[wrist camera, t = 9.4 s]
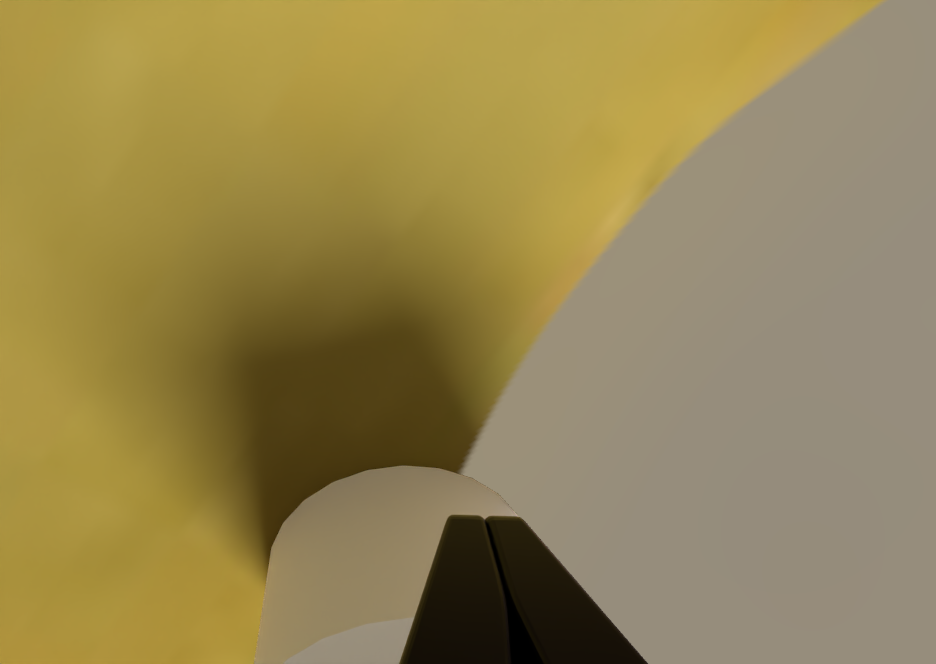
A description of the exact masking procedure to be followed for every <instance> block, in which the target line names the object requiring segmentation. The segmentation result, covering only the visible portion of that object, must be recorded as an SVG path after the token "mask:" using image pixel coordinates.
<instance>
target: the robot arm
mask: <svg viewBox="0 0 936 664" xmlns="http://www.w3.org/2000/svg"><path fill="white" fill-rule="evenodd" d="M399 664H648V663H647V662H646V661H645V660H644V659H643V657H642V656H641V655H640V654H639V653H638V652H637V650H636V649H635V648H634V647H633V646H632V645H631V643H629V641H628V640H627V639H626V638H625V637H624V635H623V634H622V633H621V632H620V631H619V630H618V628H617V627H616V626H615V625H614V624H613V623H612V622H611V620H610V619H609V618H608V617H607V616H606V615H605V614H604V613H603V611H602V610H601V609H600V608H599V607H598V605H597V604H596V603H595V602H594V601H593V599H592V598H591V597H590V596H589V595H588V594H587V593H586V591H585V590H584V589H583V588H582V587H581V586H580V585H579V583H578V582H577V581H576V580H575V579H574V577H573V576H572V575H571V574H570V573H569V572H568V571H567V569H566V568H565V567H564V566H563V565H562V564H561V562H560V561H559V560H558V559H557V558H556V557H555V556H554V554H553V553H552V552H551V551H550V550H549V549H548V547H547V546H546V545H545V544H544V543H543V542H542V541H541V539H540V538H539V537H538V536H537V535H536V533H535V532H534V531H533V530H532V529H531V528H530V527H529V526H528V524H527V523H526V522H525V521H524V520H523V519H521V518H520V517H517V516H489V517H487V518H485V520H484V518H483V517H481V516H479V515H450V516H449V517H448V518H447V520H446V523H445V526H444V529H443V532H442V535H441V538H440V541H439V544H438V547H437V550H436V553H435V556H434V559H433V562H432V565H431V568H430V571H429V574H428V577H427V580H426V583H425V587H424V590H423V593H422V596H421V599H420V602H419V605H418V608H417V611H416V614H415V617H414V620H413V623H412V626H411V629H410V632H409V635H408V638H407V641H406V644H405V647H404V650H403V653H402V656H401V659H400V662H399Z"/></svg>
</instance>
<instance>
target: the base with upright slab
mask: <svg viewBox="0 0 936 664" xmlns="http://www.w3.org/2000/svg"><path fill="white" fill-rule="evenodd" d="M450 515H479V516H481V517H483V518H484V520H485V518H487V517H489V516H517V517H518V515H517V514H516V513H515V512H514V510H513V509H512V508H511V507H510V506H509V505H508V504H507V503H506V502H505V501H504V500H503V498H502V497H501V496H500V495H499V494H498V493H496V492H494V491H493V490H491V489H489V488H488V487H486V486H484V485H483V484H481V483H479V482H478V481H476V480H474V479H473V478H470V477H467V476H464V475H460V474H457V473H454V472H450V471H447V470H444V469H440V468H430V467H417V466H404V465H403V466H395V467H388V468H380V469H372V470H366V471H363V472H360V473H357V474H355V475H352V476H349V477H346V478H343V479H340V480H337V481H335V482H332V483H331V484H329V485H327V486H326V487H324V488H323V489H321V490H319V491H318V492H316V493H315V494H313V495H311V496H310V497H308V498H307V499H305V500H304V501H303V502H302V503H301V504H300V505H299V506H298V507H297V508H296V509H295V510H294V511H293V513H292V514H291V515H290V516H289V517H288V518H287V519H286V520H285V521H284V522H283V524H282V526H281V528H280V530H279V532H278V535H277V537H276V539H275V541H274V543H273V545H272V547H271V553H270V560H269V567H268V574H267V580H266V587H265V594H264V600H263V607H262V614H261V621H260V627H259V634H258V641H257V647H256V654H255V661H254V664H399V662H400V659H401V656H402V653H403V650H404V647H405V644H406V641H407V638H408V635H409V632H410V629H411V626H412V623H413V620H414V617H415V614H416V611H417V608H418V605H419V602H420V599H421V596H422V593H423V590H424V587H425V583H426V580H427V577H428V574H429V571H430V568H431V565H432V562H433V559H434V556H435V553H436V550H437V547H438V544H439V541H440V538H441V535H442V532H443V529H444V526H445V523H446V520H447V518H448V517H449V516H450Z"/></svg>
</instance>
